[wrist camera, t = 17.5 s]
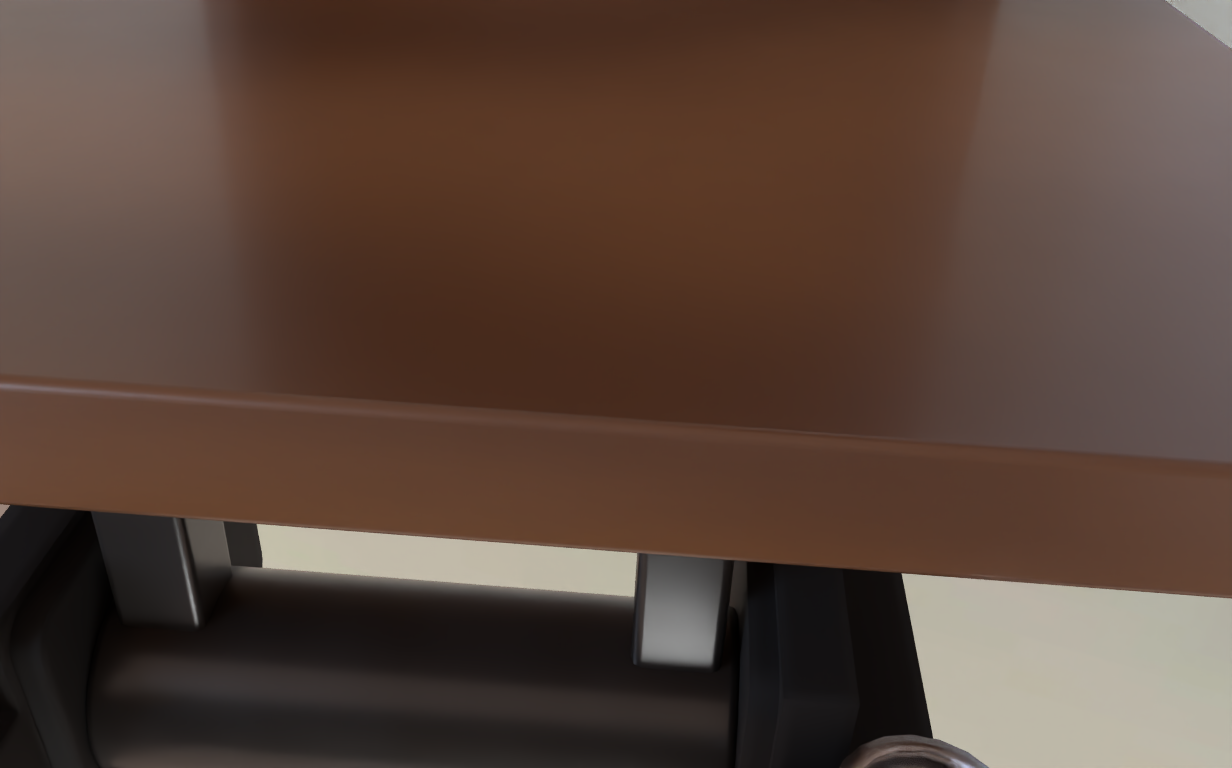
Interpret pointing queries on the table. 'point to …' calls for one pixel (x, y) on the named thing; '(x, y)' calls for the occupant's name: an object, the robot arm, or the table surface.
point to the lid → (594, 339)
